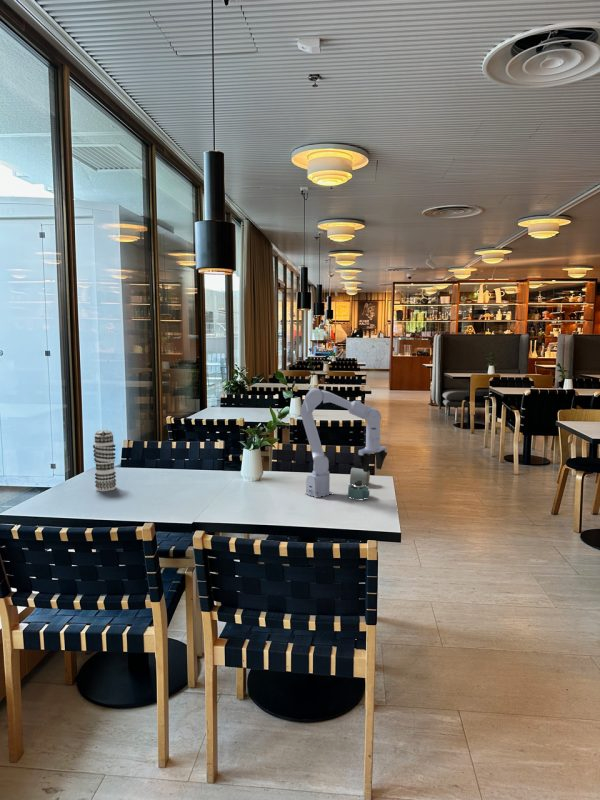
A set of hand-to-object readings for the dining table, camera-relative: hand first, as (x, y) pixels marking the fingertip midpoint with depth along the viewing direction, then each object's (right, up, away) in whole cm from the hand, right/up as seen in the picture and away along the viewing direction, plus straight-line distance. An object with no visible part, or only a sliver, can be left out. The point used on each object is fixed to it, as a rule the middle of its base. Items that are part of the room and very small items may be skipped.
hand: (372, 470), depth 229 cm
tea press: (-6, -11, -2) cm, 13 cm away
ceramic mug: (-3, -9, +18) cm, 20 cm away
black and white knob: (-6, -10, -2) cm, 12 cm away
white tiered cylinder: (-114, -9, +10) cm, 114 cm away
